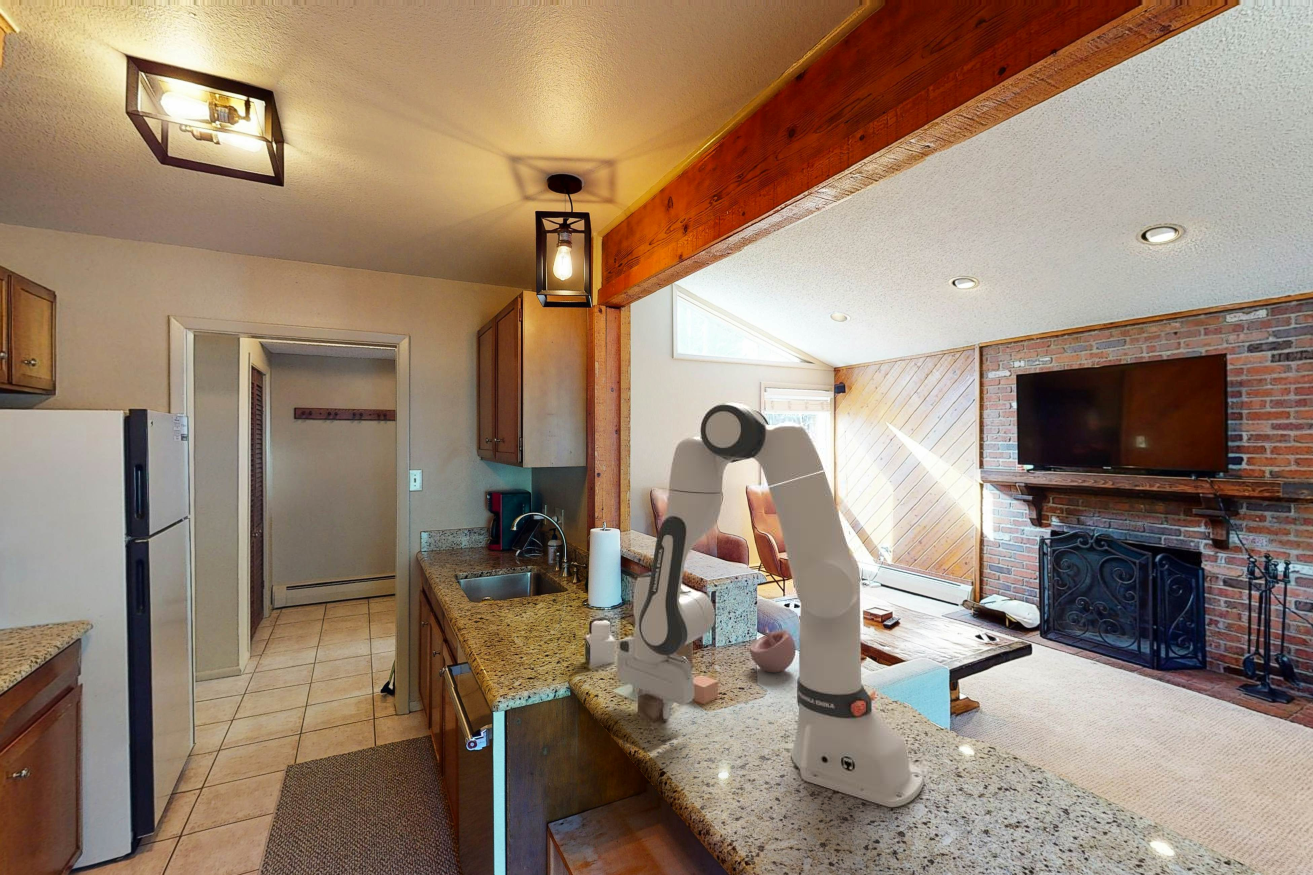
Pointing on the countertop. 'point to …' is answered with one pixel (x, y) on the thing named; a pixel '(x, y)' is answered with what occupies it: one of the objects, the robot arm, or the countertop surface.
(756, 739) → the countertop surface
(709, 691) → the brick
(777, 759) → the countertop surface
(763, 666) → the mortar and pestle
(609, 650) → the medicine bottle
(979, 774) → the countertop surface
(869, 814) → the countertop surface
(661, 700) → the brick
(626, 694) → the plate
